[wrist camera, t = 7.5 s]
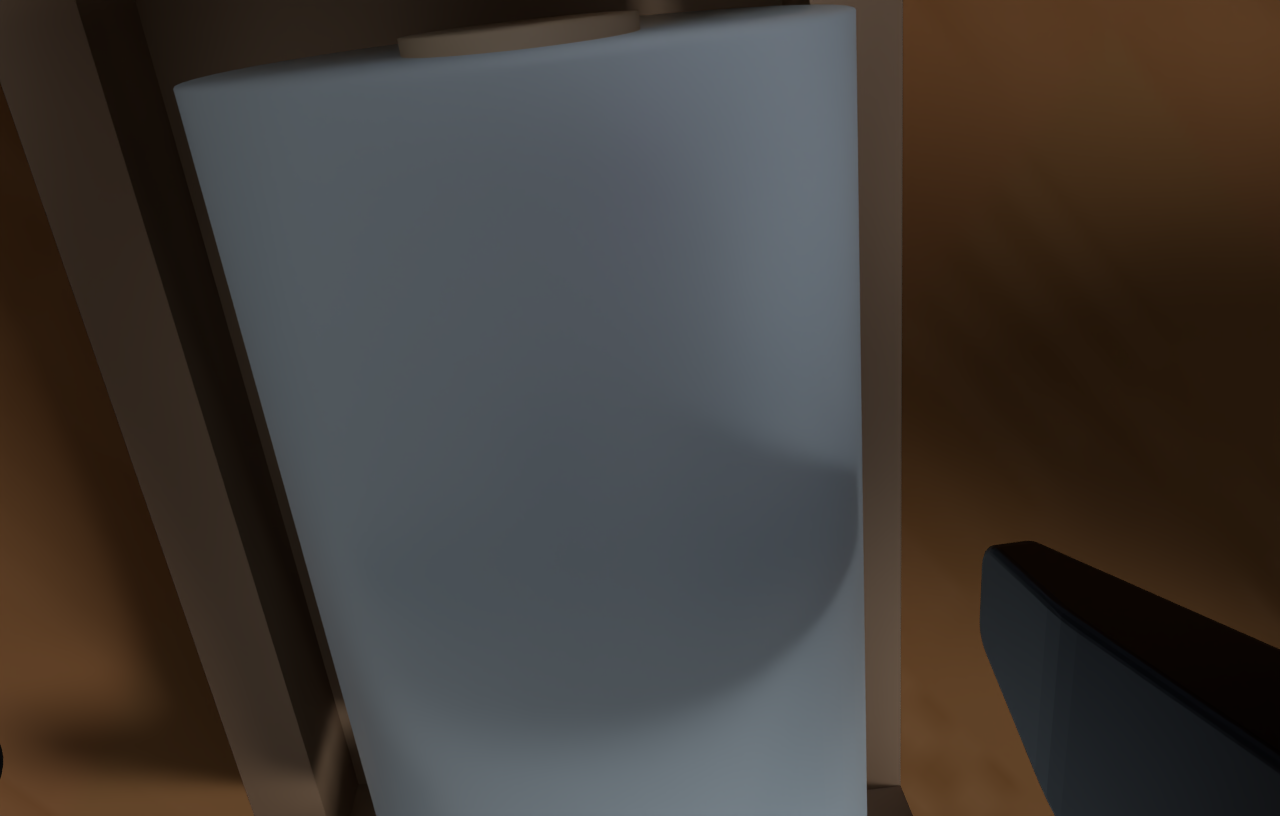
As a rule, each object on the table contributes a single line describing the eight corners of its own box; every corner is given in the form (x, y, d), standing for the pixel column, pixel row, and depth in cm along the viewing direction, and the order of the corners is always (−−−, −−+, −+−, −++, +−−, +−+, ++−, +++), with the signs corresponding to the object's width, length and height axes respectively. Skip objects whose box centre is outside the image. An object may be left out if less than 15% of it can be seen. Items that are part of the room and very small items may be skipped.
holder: (839, -225, 12) (1008, -348, 7) (857, 723, 18) (958, 983, 13) (41, -137, 12) (-294, -210, 7) (324, 792, 18) (239, 1079, 13)
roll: (198, 53, 11) (114, 96, 6) (703, -8, 12) (1010, -19, 7) (387, 768, 15) (443, 1177, 10) (750, 658, 17) (967, 961, 11)
